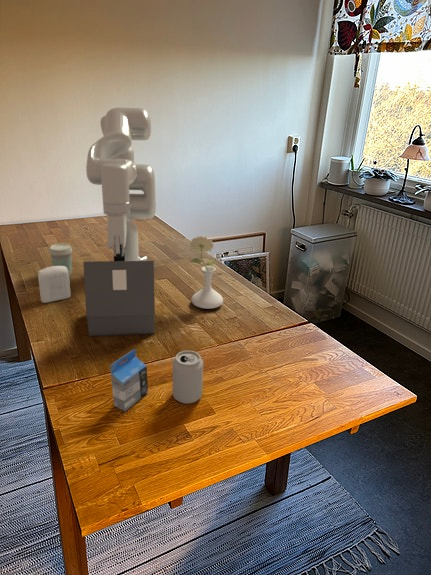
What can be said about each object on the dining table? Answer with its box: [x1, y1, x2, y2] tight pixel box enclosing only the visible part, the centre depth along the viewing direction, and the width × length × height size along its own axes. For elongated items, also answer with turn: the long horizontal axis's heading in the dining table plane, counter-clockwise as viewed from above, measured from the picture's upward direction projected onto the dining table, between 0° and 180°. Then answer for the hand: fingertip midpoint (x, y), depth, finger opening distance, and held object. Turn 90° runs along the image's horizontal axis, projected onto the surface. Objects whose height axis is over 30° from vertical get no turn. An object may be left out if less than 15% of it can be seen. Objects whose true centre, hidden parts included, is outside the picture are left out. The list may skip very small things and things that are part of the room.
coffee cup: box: [48, 243, 73, 278], centre depth 176 cm, size 8×9×12 cm
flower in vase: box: [189, 236, 224, 310], centre depth 156 cm, size 13×11×25 cm
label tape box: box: [110, 348, 149, 412], centre depth 111 cm, size 9×4×12 cm, turn 148°
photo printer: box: [37, 265, 72, 304], centre depth 158 cm, size 10×4×12 cm, turn 123°
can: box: [172, 350, 204, 404], centre depth 113 cm, size 8×8×12 cm
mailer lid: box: [82, 260, 156, 318], centre depth 136 cm, size 17×20×1 cm
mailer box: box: [86, 315, 155, 337], centre depth 146 cm, size 16×20×7 cm
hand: (119, 267), depth 138 cm, fingers closed
